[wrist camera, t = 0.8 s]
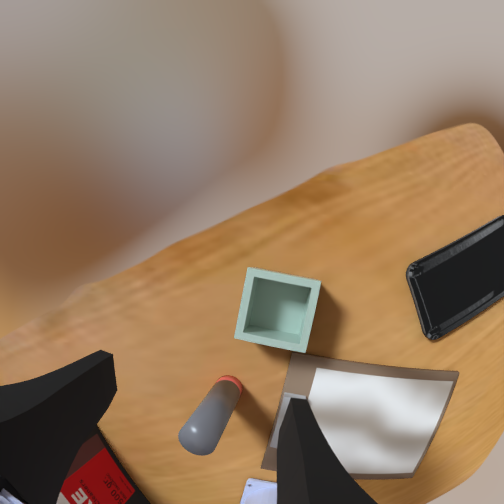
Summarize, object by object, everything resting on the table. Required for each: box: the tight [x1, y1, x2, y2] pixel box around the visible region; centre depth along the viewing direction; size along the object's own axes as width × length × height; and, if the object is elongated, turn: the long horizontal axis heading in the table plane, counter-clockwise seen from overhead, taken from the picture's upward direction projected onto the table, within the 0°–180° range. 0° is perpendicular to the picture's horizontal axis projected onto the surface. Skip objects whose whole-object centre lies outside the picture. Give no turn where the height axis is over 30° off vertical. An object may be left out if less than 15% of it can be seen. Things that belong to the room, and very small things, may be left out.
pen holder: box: [234, 267, 321, 353], centre depth 24 cm, size 6×6×4 cm
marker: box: [178, 375, 242, 455], centre depth 21 cm, size 3×3×10 cm
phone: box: [406, 215, 504, 340], centre depth 23 cm, size 8×1×15 cm
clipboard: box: [261, 351, 459, 479], centre depth 23 cm, size 14×18×1 cm
